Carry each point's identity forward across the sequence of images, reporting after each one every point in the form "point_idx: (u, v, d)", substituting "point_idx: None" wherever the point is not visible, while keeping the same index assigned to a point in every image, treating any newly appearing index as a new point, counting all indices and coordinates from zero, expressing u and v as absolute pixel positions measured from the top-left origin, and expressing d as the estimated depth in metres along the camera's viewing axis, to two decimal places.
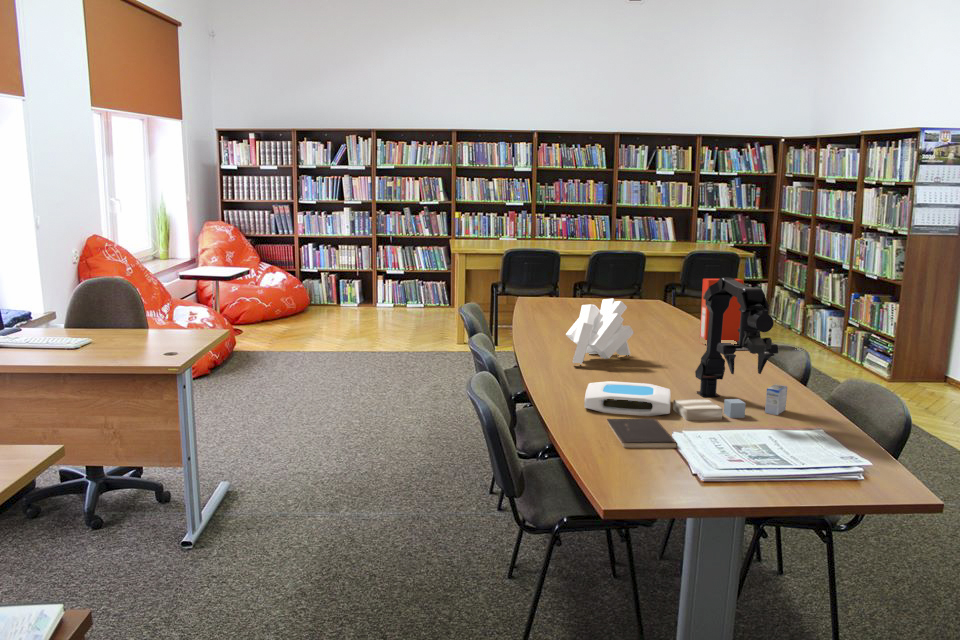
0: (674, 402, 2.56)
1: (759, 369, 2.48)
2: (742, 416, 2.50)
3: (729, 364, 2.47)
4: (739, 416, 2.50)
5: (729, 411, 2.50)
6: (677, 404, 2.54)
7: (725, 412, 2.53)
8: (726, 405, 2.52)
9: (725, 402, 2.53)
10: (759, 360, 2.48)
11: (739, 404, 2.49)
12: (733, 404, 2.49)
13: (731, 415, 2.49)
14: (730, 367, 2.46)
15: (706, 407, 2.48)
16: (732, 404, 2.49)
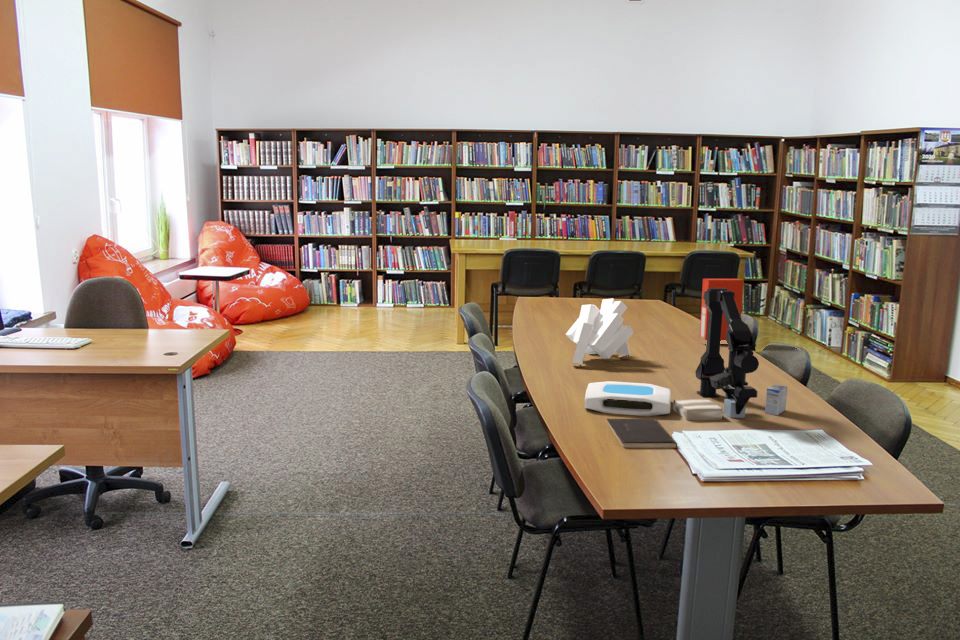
0: (674, 402, 2.56)
1: None
2: (742, 416, 2.50)
3: None
4: (739, 416, 2.50)
5: (729, 411, 2.50)
6: (677, 404, 2.54)
7: (725, 412, 2.53)
8: (726, 405, 2.52)
9: (725, 402, 2.53)
10: None
11: None
12: (733, 404, 2.49)
13: (731, 415, 2.49)
14: None
15: (706, 407, 2.48)
16: (732, 404, 2.49)
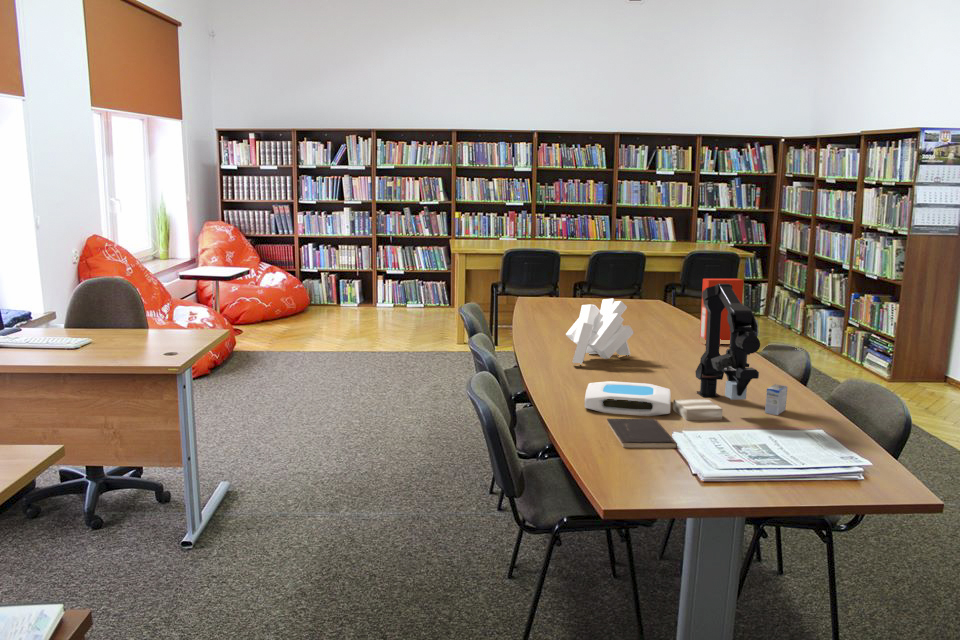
0: (674, 402, 2.56)
1: None
2: (743, 397, 2.49)
3: None
4: (740, 397, 2.48)
5: (730, 392, 2.49)
6: (677, 404, 2.54)
7: (726, 394, 2.52)
8: (727, 387, 2.51)
9: (726, 384, 2.52)
10: None
11: None
12: (734, 385, 2.47)
13: (732, 396, 2.48)
14: None
15: (706, 407, 2.48)
16: (733, 385, 2.47)
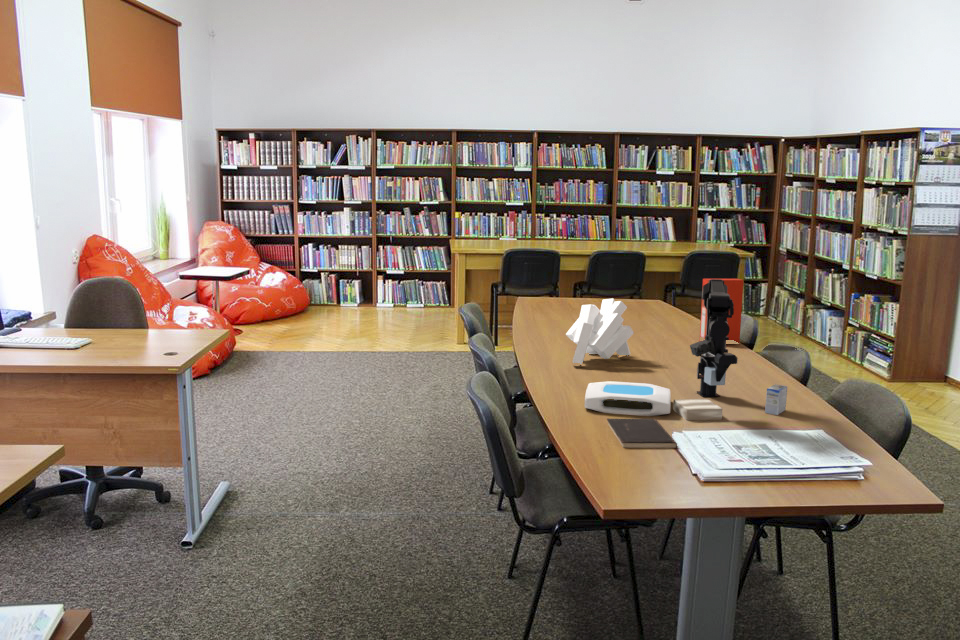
0: (674, 402, 2.56)
1: None
2: (722, 383, 2.48)
3: None
4: (719, 383, 2.48)
5: (709, 378, 2.48)
6: (677, 404, 2.54)
7: (705, 380, 2.51)
8: (706, 373, 2.50)
9: (705, 370, 2.51)
10: None
11: None
12: (713, 371, 2.47)
13: (711, 382, 2.48)
14: None
15: (706, 407, 2.48)
16: (712, 371, 2.47)
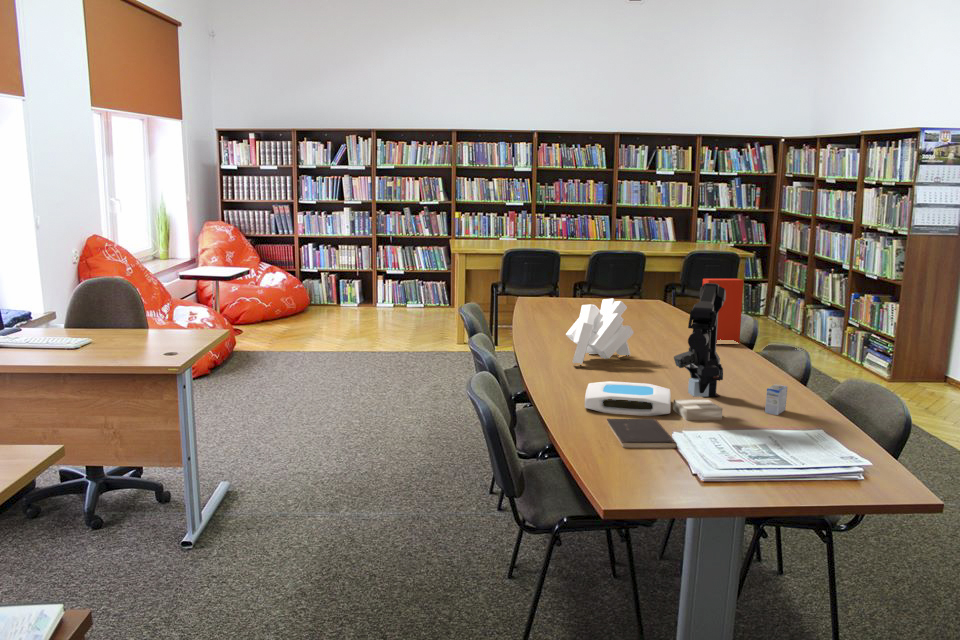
0: (674, 402, 2.56)
1: None
2: (706, 395, 2.49)
3: None
4: (703, 395, 2.49)
5: (693, 390, 2.49)
6: (677, 404, 2.54)
7: (689, 391, 2.52)
8: (690, 384, 2.51)
9: (689, 381, 2.52)
10: None
11: None
12: (697, 383, 2.48)
13: (695, 394, 2.49)
14: None
15: (706, 407, 2.48)
16: (696, 383, 2.48)
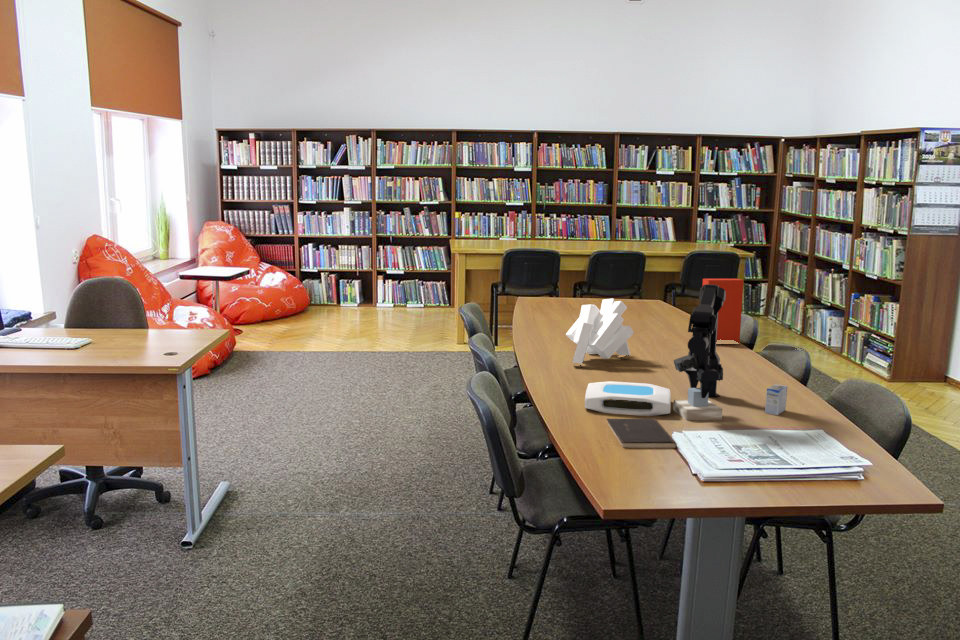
0: (674, 402, 2.56)
1: None
2: (705, 404, 2.50)
3: None
4: (702, 404, 2.50)
5: (692, 400, 2.50)
6: (677, 404, 2.54)
7: (689, 401, 2.53)
8: (689, 394, 2.52)
9: (688, 391, 2.53)
10: None
11: None
12: (696, 393, 2.49)
13: (694, 404, 2.49)
14: None
15: (706, 407, 2.48)
16: (695, 393, 2.49)
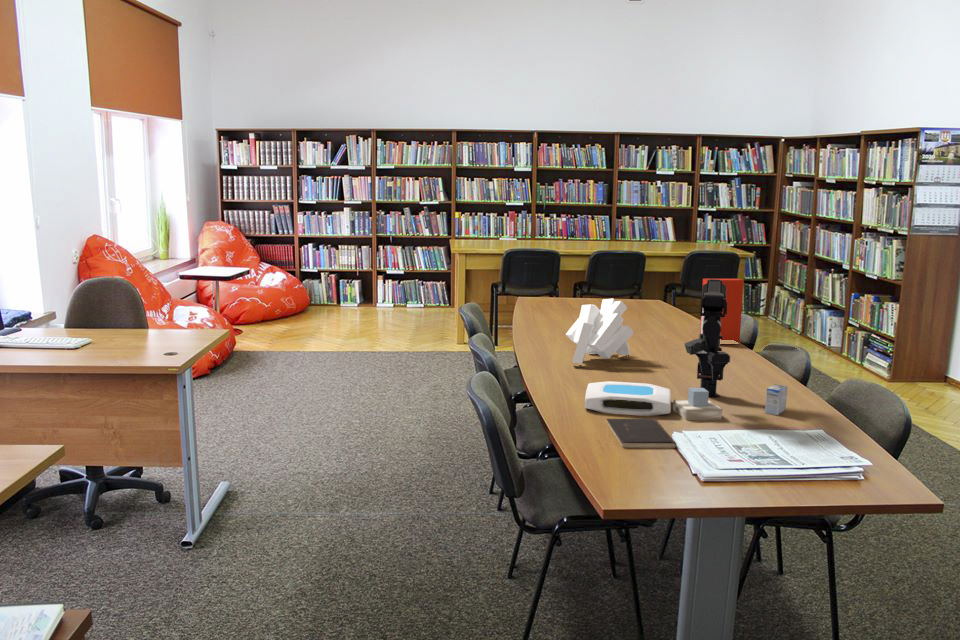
0: (674, 402, 2.56)
1: None
2: (705, 405, 2.50)
3: None
4: (702, 405, 2.50)
5: (692, 399, 2.50)
6: (677, 404, 2.54)
7: (689, 401, 2.53)
8: (690, 394, 2.52)
9: (689, 391, 2.53)
10: None
11: (702, 393, 2.49)
12: (696, 392, 2.49)
13: (694, 403, 2.49)
14: None
15: (706, 407, 2.48)
16: (695, 392, 2.49)
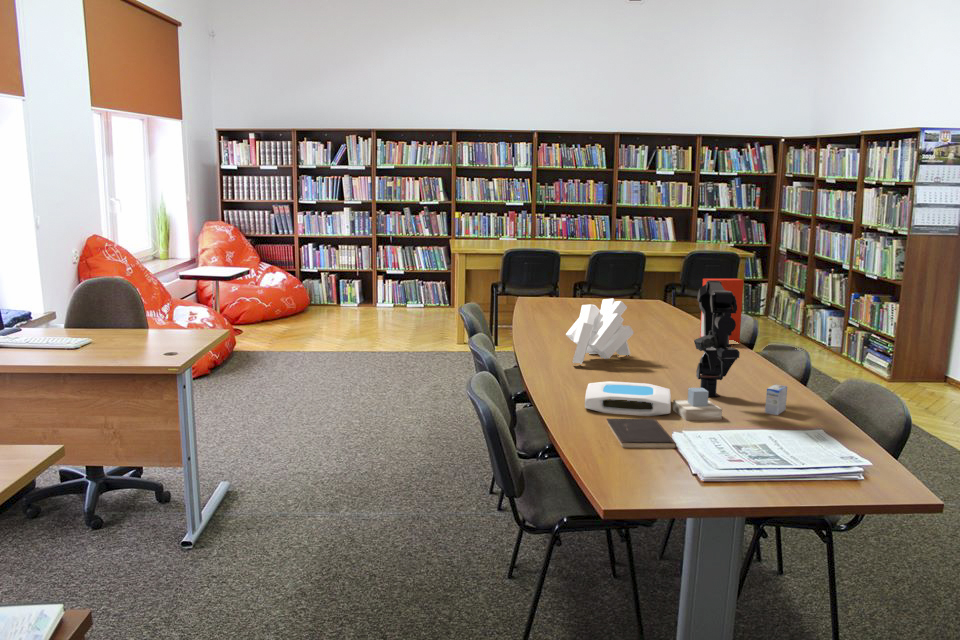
0: (674, 402, 2.56)
1: None
2: (705, 404, 2.50)
3: None
4: (702, 404, 2.50)
5: (692, 399, 2.50)
6: (677, 404, 2.54)
7: (689, 400, 2.53)
8: (689, 393, 2.52)
9: (688, 391, 2.53)
10: None
11: (702, 392, 2.49)
12: (696, 392, 2.49)
13: (694, 403, 2.49)
14: None
15: (706, 407, 2.48)
16: (695, 392, 2.49)
